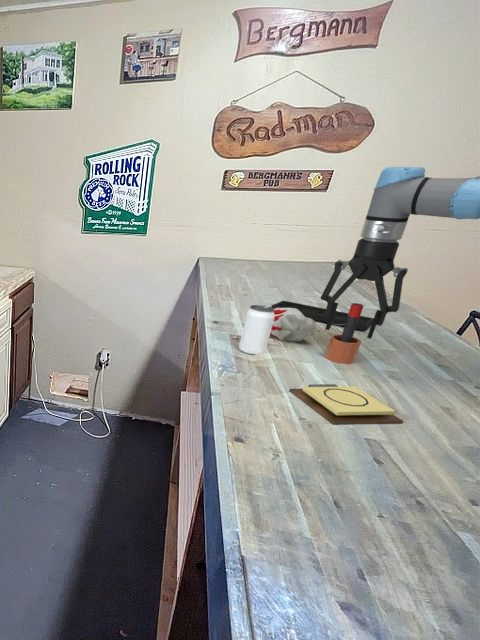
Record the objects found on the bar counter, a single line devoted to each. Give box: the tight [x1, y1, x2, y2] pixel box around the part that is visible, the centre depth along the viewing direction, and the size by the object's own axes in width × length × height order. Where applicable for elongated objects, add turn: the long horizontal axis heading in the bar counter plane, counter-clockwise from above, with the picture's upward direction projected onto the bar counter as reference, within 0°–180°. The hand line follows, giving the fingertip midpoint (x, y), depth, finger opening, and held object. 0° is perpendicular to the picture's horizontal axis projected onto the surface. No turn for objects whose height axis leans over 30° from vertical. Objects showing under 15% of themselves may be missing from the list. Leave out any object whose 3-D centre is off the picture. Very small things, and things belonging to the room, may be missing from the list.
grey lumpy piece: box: [270, 307, 317, 343], centre depth 131 cm, size 9×11×15 cm
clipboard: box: [289, 383, 404, 425], centre depth 95 cm, size 14×14×2 cm
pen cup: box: [324, 334, 362, 365], centre depth 116 cm, size 6×6×6 cm
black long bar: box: [270, 300, 374, 331], centre depth 146 cm, size 26×3×30 cm
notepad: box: [302, 386, 396, 415], centre depth 94 cm, size 11×12×1 cm
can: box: [238, 304, 275, 356], centre depth 120 cm, size 6×6×12 cm
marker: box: [340, 302, 365, 343], centre depth 114 cm, size 2×2×14 cm
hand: (348, 332), depth 114 cm, fingers open, 8 cm apart
